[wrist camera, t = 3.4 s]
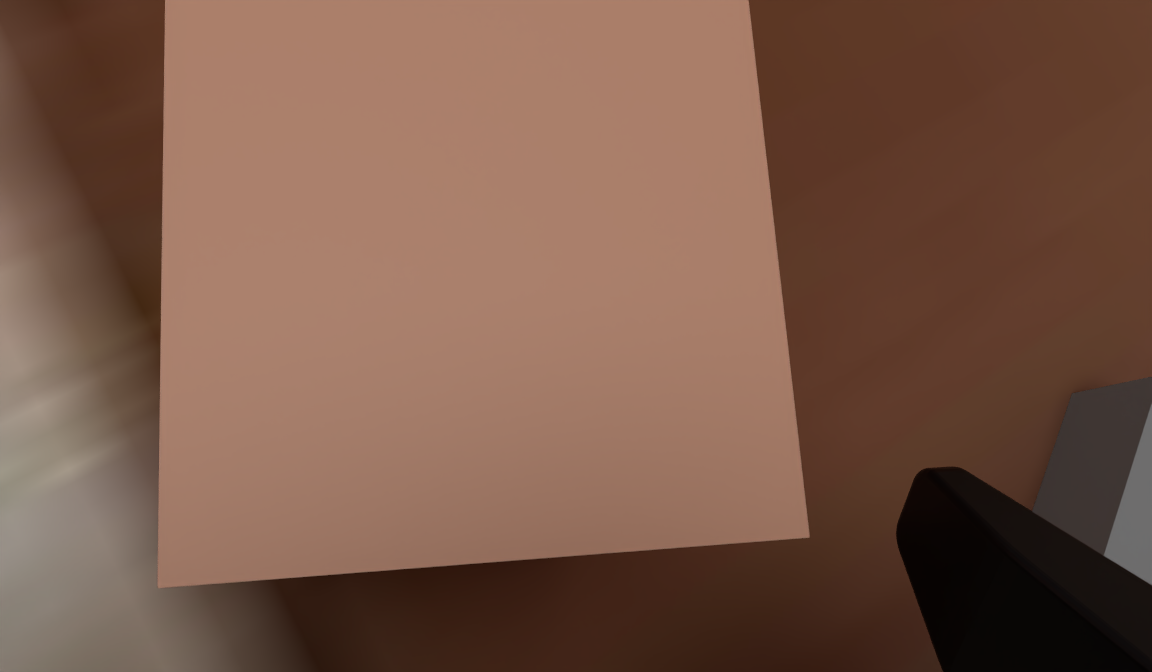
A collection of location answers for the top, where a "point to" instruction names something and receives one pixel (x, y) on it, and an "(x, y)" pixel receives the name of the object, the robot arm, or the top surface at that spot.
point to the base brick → (1105, 474)
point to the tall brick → (466, 287)
